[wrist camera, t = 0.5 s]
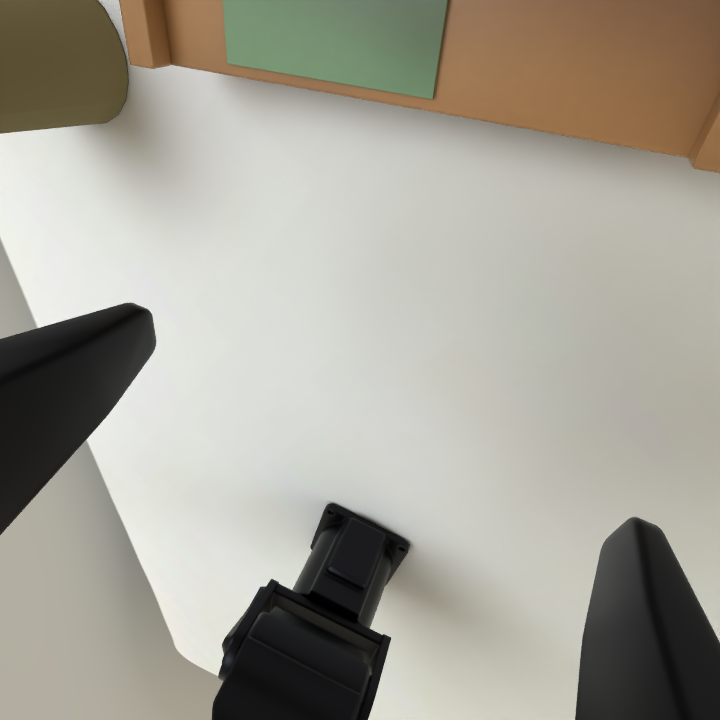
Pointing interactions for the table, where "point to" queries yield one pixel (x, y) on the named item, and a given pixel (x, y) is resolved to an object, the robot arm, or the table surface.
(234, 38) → the shelf
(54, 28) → the olive pawn
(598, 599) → the robot arm
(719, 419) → the table surface
